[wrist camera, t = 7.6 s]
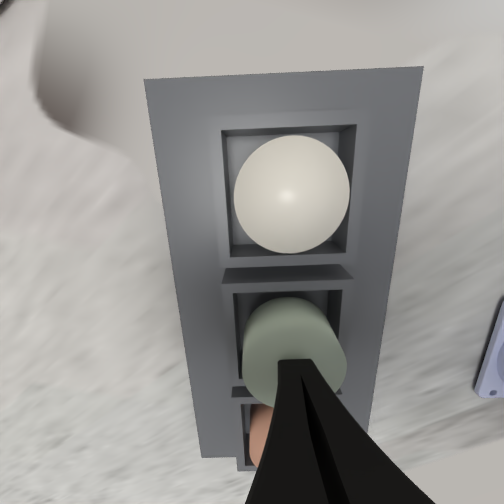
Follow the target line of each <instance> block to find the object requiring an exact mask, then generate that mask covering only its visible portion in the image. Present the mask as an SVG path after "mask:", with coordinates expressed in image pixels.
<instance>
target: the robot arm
mask: <svg viewBox="0 0 504 504" xmlns="http://www.w3.org/2000/svg"><path fill="white" fill-rule="evenodd" d="M277 364H278V385H277V392H276V398H275V404H274V410H273V414H272V418H271V423H270V427H269V431H268V435H267V439H266V442H265V446H264V449H263V453H262V456H261V459H260V462H259V465H258V468H257V471H256V474H255V477H254V480H253V483H252V486H251V489H250V491H249V494H248V497H247V500H246V502H245V504H435V503H434V502H433V501H432V500H431V499H430V498H429V497H428V496H427V495H426V494H425V493H424V492H423V491H421V490H420V489H419V488H418V487H417V486H416V485H415V484H414V483H413V482H412V481H411V480H410V479H409V478H408V477H407V476H406V475H405V474H404V473H403V472H402V471H401V470H400V469H399V468H398V467H397V466H396V465H395V464H394V463H393V462H392V461H391V460H390V458H389V457H388V456H387V455H386V454H385V453H384V452H383V451H382V450H381V449H380V448H379V447H378V446H377V444H376V443H375V442H374V441H373V440H372V439H371V438H370V437H369V435H368V434H367V433H366V432H365V431H364V430H363V428H362V427H361V426H360V425H359V424H358V422H357V421H356V420H355V419H354V418H353V416H352V415H351V414H350V413H349V411H348V410H347V409H346V407H345V406H344V405H343V403H342V402H341V401H340V400H339V398H338V397H337V396H336V394H335V393H334V392H333V390H332V389H331V387H330V386H329V385H328V383H327V382H326V380H325V379H324V377H323V376H322V374H321V373H320V371H319V370H318V368H317V367H316V365H315V363H314V362H313V360H312V359H283V360H279V361H278V362H277ZM475 393H476V394H477V395H478V396H479V397H481V398H497V397H504V301H503V303H502V306H501V309H500V312H499V315H498V318H497V321H496V324H495V327H494V330H493V333H492V337H491V340H490V343H489V346H488V349H487V352H486V355H485V358H484V361H483V364H482V368H481V371H480V374H479V377H478V380H477V383H476V386H475Z"/></svg>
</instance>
